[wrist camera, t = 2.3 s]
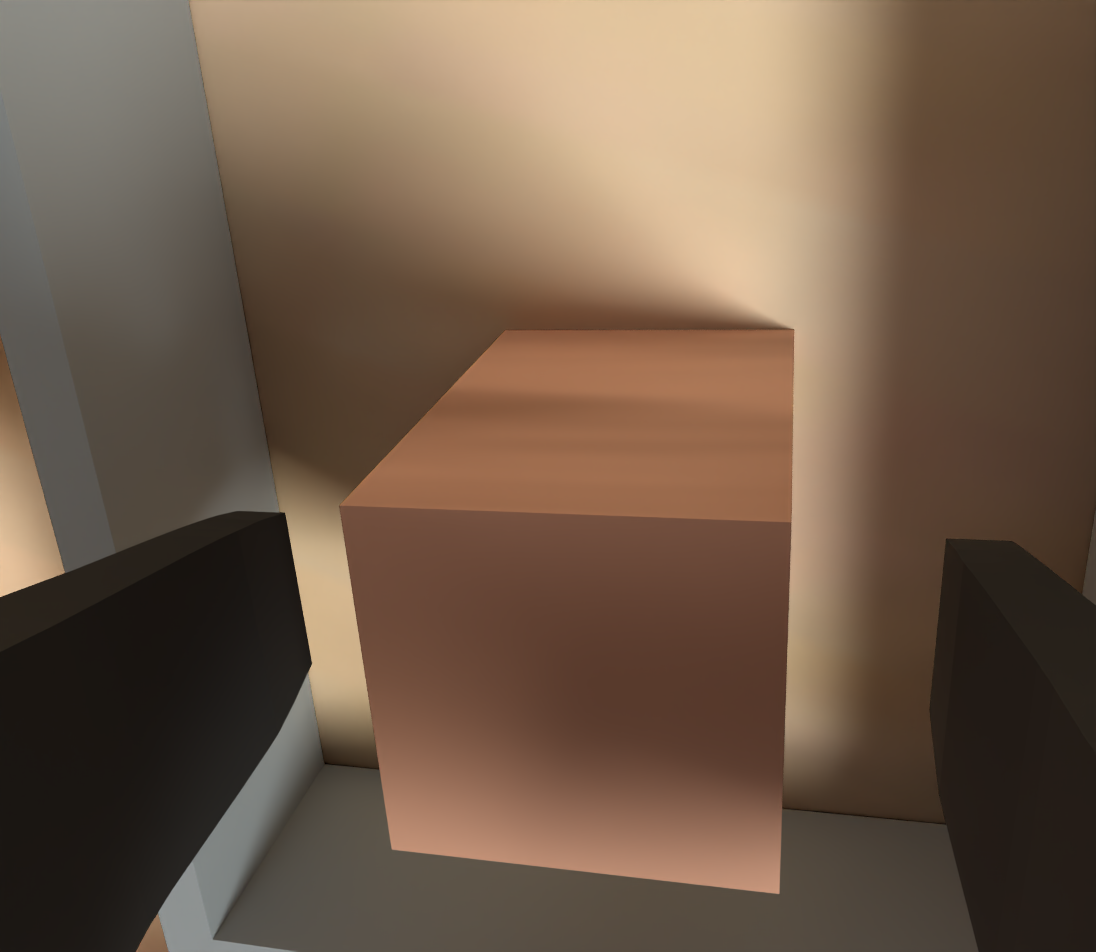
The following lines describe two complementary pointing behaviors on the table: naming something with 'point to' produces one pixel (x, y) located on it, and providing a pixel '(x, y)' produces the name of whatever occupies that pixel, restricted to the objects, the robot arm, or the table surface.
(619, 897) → the open side box
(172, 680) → the robot arm
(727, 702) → the block
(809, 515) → the table surface
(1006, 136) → the table surface
